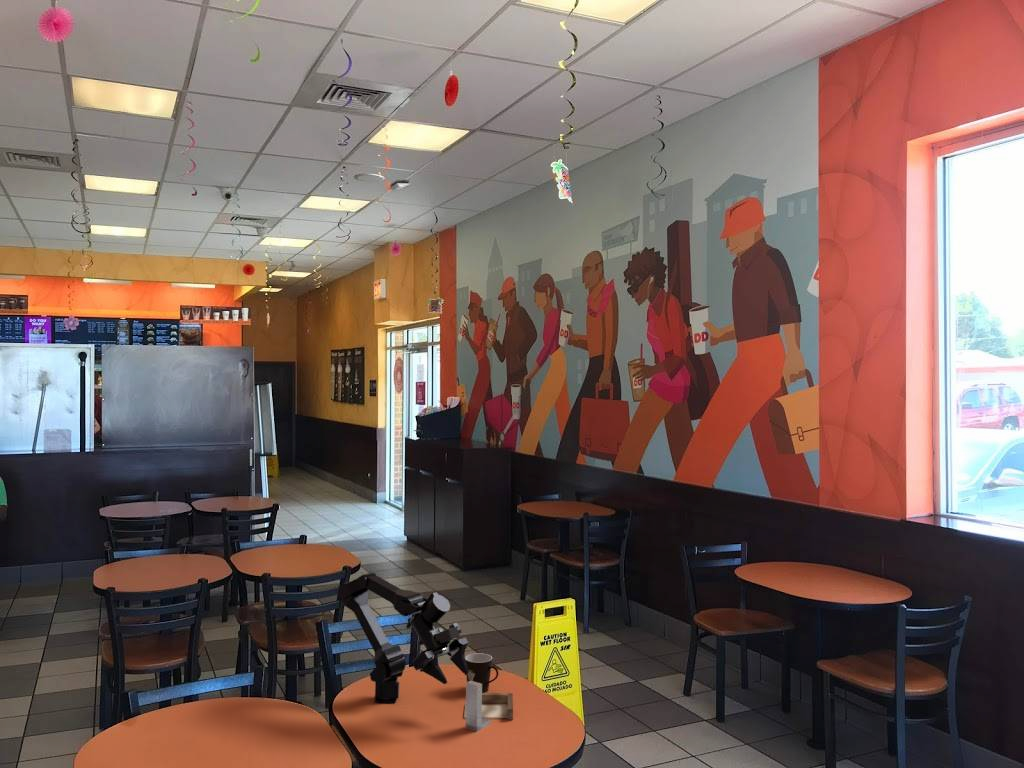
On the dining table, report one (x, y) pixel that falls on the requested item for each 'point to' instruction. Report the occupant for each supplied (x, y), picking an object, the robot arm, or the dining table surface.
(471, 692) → the bracket
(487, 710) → the corner fixture
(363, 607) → the robot arm
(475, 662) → the coffee mug
